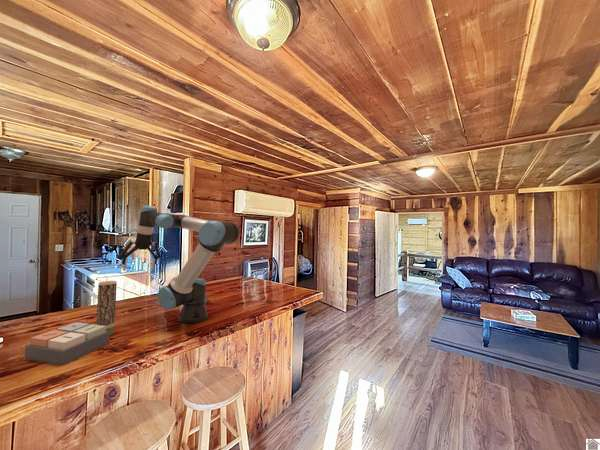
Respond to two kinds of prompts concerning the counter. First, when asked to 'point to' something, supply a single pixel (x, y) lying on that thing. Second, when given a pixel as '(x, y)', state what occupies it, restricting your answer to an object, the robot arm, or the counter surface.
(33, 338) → the key terracotta
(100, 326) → the key sage
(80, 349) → the keypad
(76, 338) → the key cream
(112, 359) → the counter surface
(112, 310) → the brown bark-patterned cylinder
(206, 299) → the cupcake
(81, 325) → the key slate
